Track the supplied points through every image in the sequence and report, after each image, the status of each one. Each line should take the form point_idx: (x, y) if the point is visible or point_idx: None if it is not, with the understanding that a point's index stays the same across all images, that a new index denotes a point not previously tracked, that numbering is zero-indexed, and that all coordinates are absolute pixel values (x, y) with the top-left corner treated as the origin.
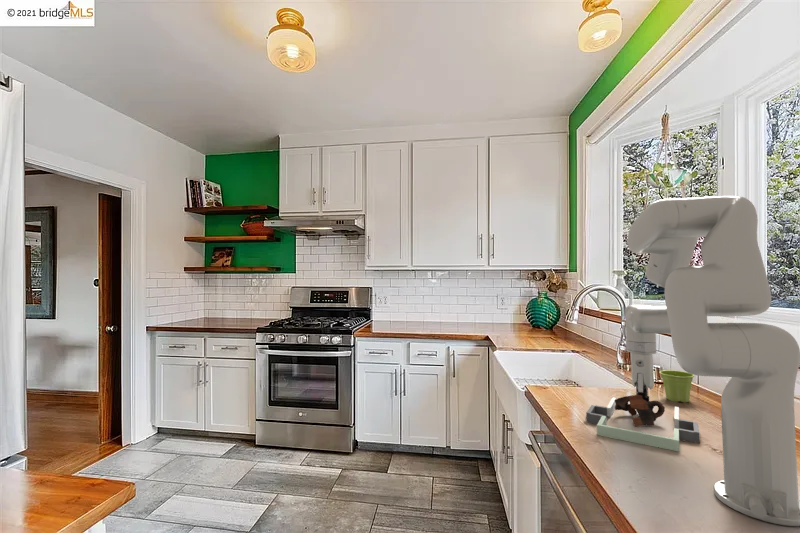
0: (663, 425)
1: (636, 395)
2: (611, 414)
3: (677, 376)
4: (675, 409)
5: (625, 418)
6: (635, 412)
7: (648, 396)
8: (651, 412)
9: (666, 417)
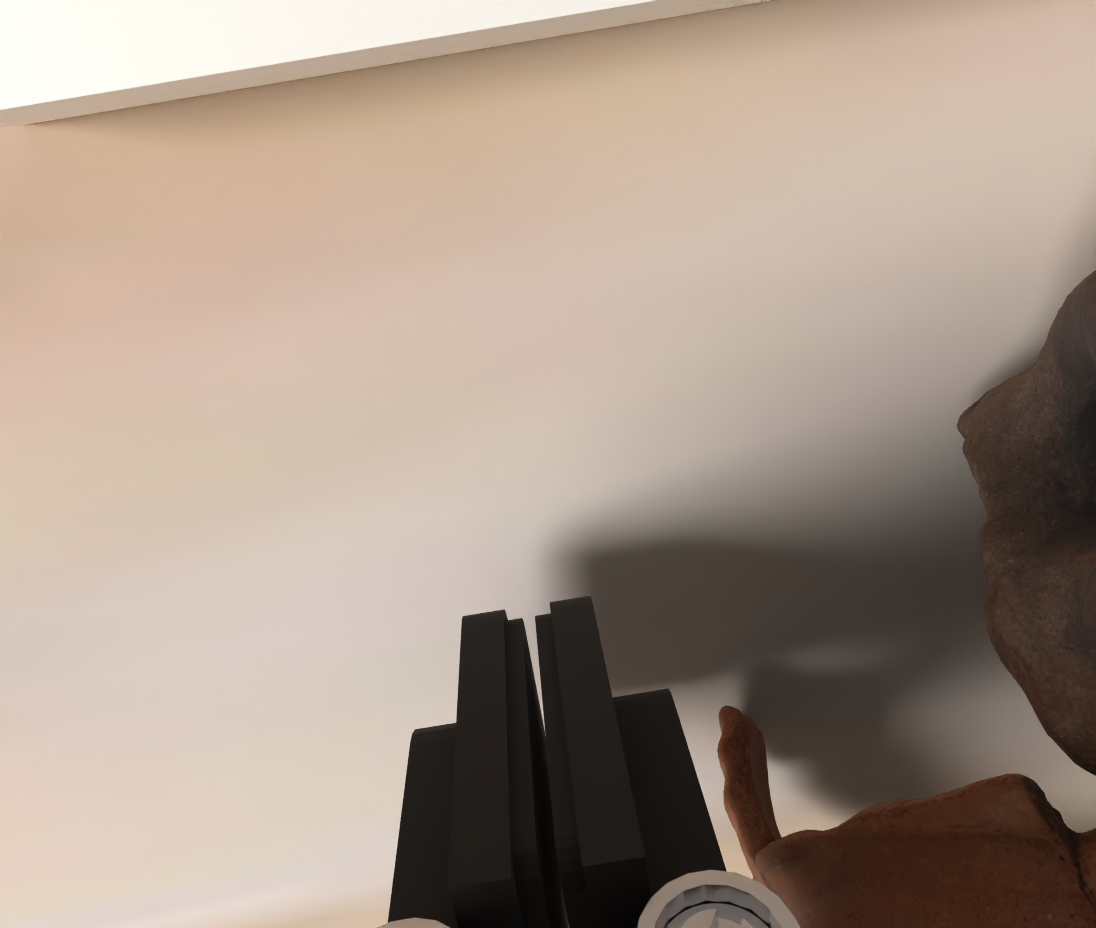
0: (1019, 192)
1: None
2: None
3: None
4: (213, 44)
5: (954, 758)
6: (748, 739)
7: (497, 891)
8: None
9: (372, 256)
